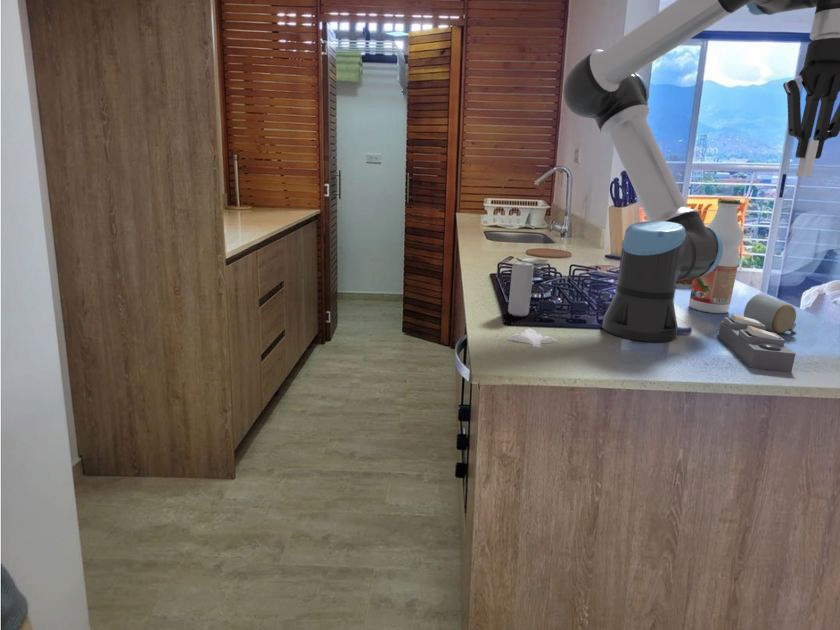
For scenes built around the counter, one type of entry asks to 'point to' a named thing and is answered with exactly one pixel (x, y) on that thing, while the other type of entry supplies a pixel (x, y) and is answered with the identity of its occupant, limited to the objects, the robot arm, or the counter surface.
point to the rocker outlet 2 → (761, 333)
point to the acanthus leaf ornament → (531, 338)
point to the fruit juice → (718, 284)
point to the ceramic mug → (771, 313)
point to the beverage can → (520, 288)
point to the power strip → (756, 346)
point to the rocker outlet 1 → (744, 320)
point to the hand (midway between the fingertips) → (803, 176)
